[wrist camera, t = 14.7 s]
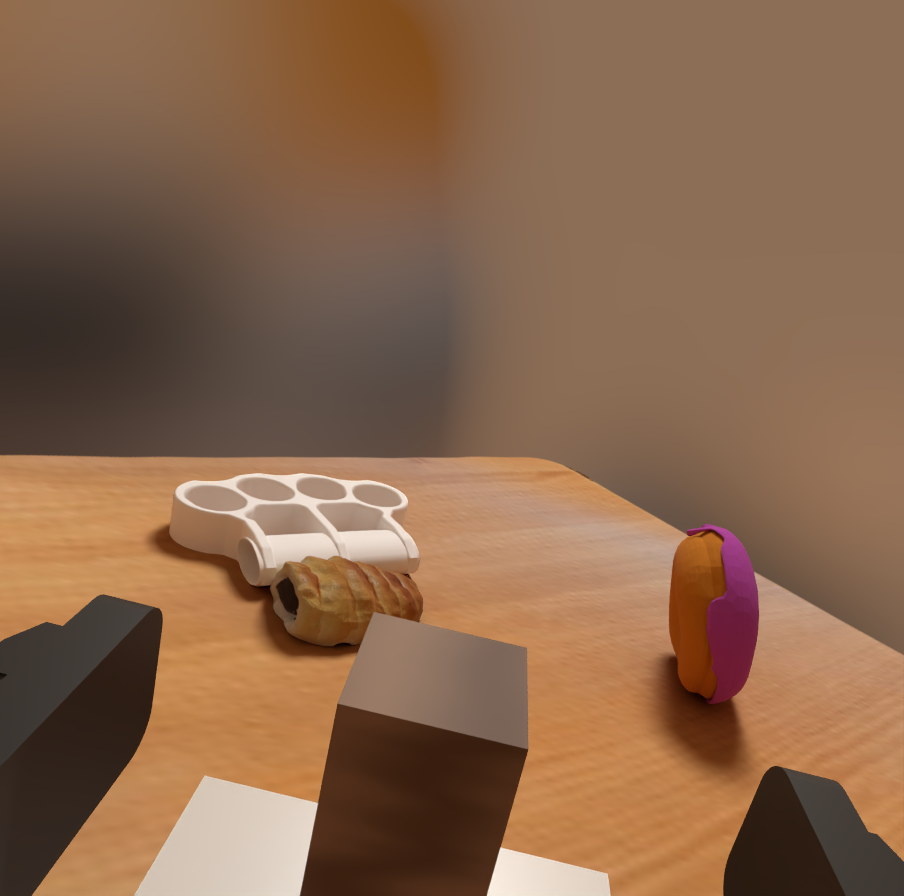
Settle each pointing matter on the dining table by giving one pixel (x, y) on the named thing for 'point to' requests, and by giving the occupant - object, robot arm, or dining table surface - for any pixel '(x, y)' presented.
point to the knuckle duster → (293, 522)
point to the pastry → (340, 598)
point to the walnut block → (420, 764)
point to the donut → (713, 613)
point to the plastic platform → (299, 851)
